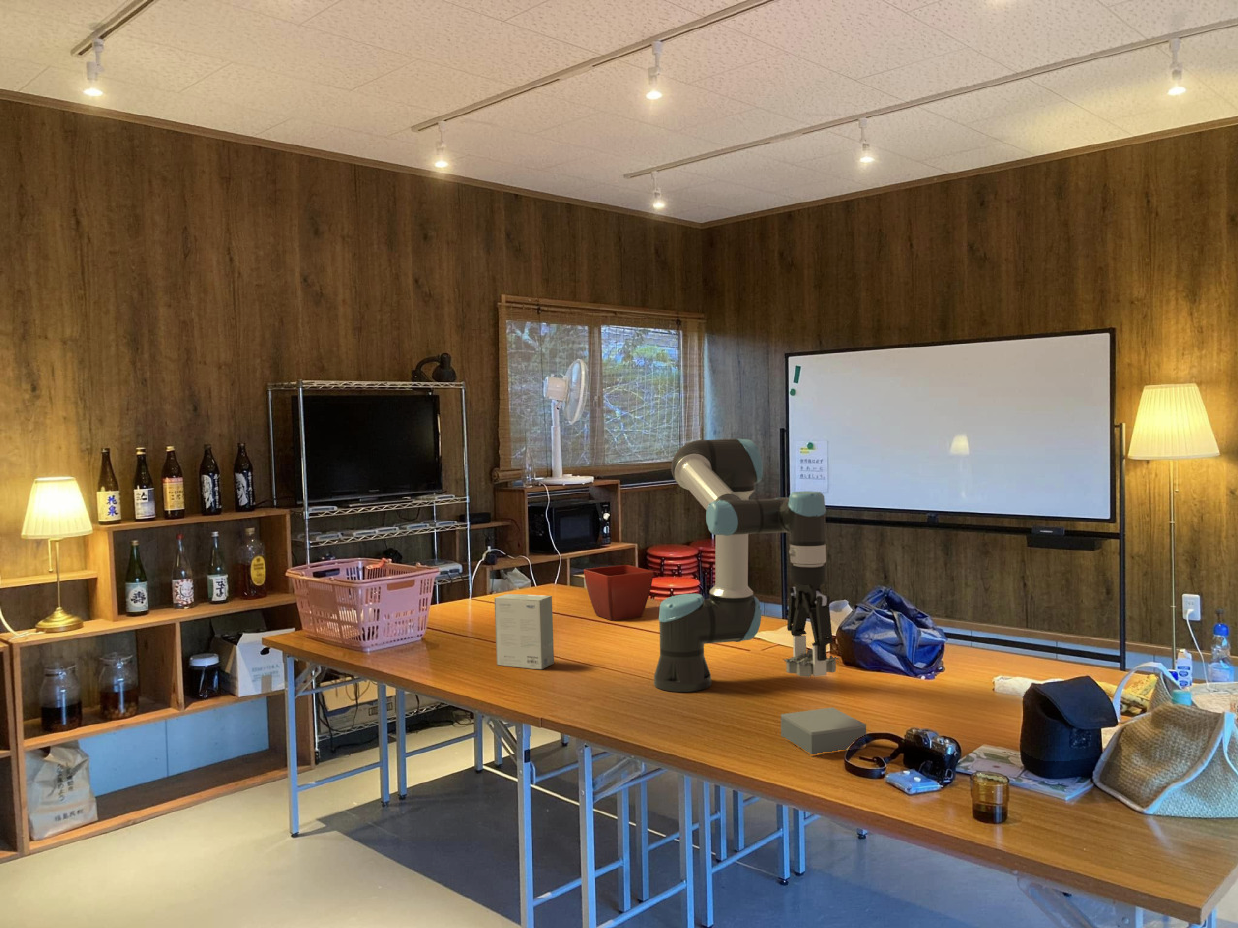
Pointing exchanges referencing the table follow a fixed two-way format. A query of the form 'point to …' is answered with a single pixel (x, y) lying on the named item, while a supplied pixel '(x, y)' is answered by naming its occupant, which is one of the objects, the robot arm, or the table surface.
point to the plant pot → (618, 591)
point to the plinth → (821, 730)
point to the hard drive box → (524, 631)
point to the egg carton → (807, 664)
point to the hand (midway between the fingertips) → (809, 670)
